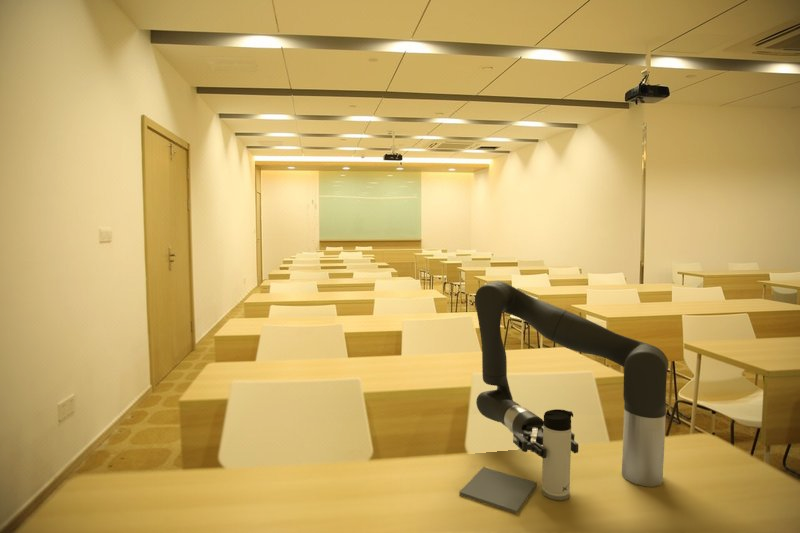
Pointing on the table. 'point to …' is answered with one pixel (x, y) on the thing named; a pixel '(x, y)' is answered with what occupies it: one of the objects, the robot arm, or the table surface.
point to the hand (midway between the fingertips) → (561, 451)
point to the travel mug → (556, 454)
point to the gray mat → (499, 489)
